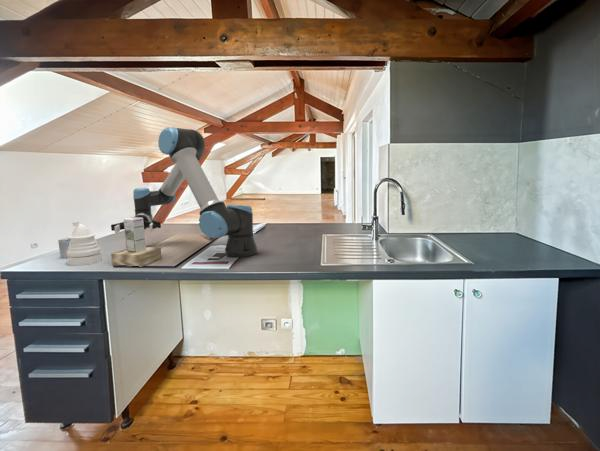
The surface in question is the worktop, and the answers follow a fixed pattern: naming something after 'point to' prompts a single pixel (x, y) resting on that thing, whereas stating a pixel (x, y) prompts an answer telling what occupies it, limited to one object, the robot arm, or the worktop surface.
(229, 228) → the robot arm
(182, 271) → the worktop surface
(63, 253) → the medicine box
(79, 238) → the honey pot
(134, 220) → the syrup box
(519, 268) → the worktop surface
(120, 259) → the birch block
